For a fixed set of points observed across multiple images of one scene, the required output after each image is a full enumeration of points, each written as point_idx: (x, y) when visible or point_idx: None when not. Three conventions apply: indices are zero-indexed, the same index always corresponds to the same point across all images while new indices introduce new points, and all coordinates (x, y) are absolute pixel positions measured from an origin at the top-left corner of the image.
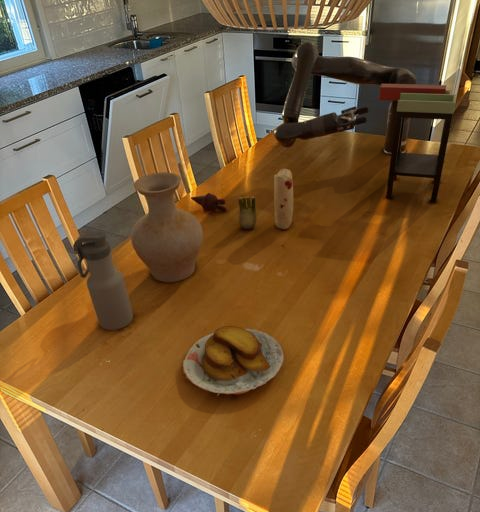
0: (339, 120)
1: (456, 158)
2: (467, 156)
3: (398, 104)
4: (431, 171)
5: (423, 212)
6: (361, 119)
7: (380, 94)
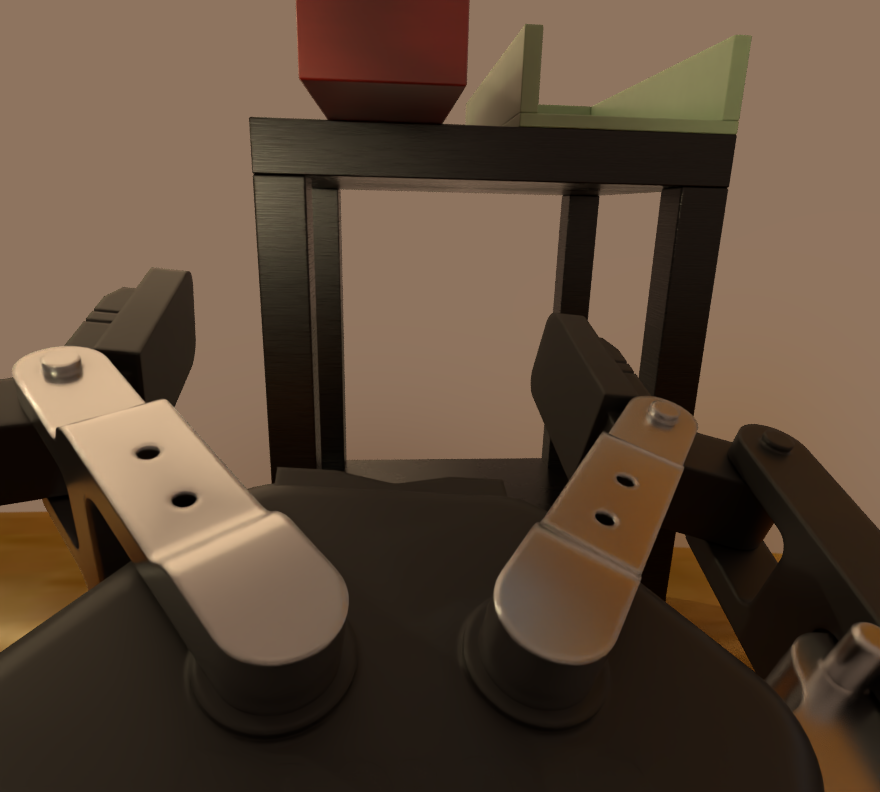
0: (624, 765)
1: (42, 549)
2: (34, 525)
3: (743, 72)
4: (539, 476)
5: (671, 601)
6: (619, 357)
7: (466, 8)
